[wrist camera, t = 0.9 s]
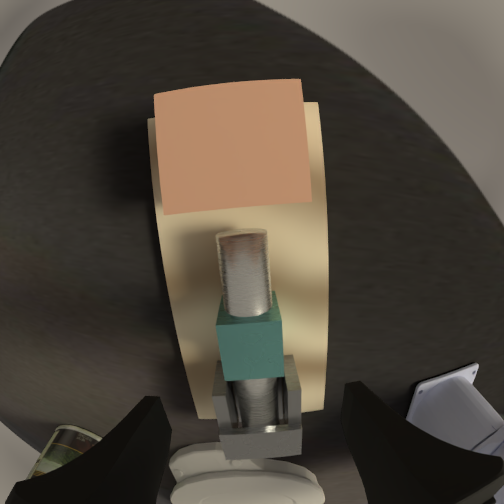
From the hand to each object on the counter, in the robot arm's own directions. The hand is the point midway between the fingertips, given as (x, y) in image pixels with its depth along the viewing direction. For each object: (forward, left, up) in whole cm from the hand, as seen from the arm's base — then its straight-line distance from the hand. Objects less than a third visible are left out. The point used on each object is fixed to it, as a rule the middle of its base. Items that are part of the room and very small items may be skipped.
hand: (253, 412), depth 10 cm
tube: (-2, 0, -8) cm, 8 cm away
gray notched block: (-6, 0, -9) cm, 11 cm away
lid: (-23, +3, -10) cm, 25 cm away
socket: (+10, 0, -9) cm, 14 cm away
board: (+2, 0, -9) cm, 10 cm away
